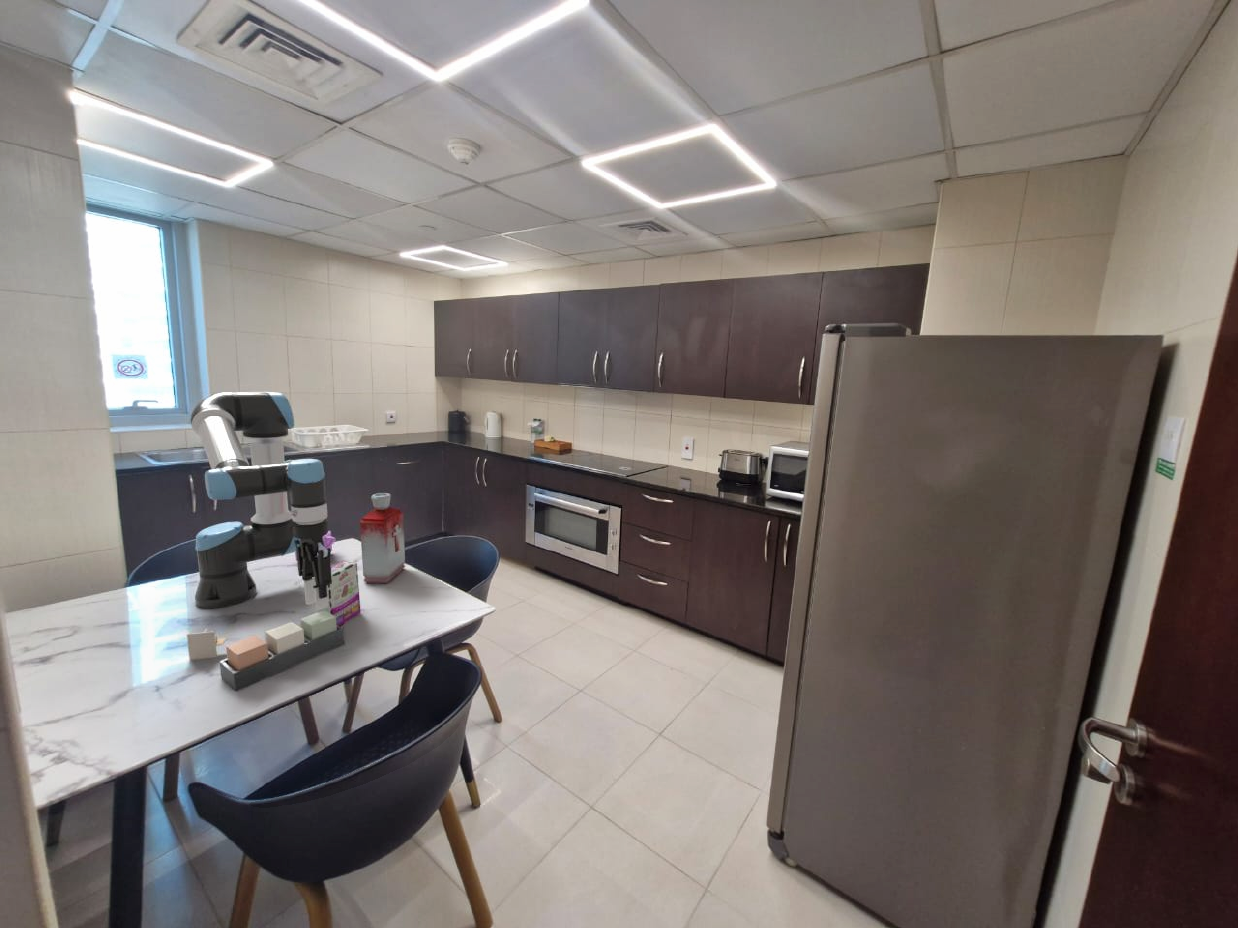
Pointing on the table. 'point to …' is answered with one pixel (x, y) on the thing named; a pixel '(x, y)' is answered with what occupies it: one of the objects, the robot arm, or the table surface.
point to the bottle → (382, 541)
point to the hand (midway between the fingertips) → (317, 605)
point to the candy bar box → (343, 592)
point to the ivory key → (284, 638)
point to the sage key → (318, 625)
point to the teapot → (325, 542)
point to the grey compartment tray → (280, 660)
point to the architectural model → (203, 645)
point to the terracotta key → (246, 652)
